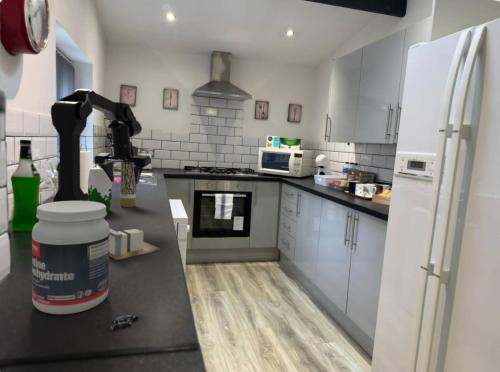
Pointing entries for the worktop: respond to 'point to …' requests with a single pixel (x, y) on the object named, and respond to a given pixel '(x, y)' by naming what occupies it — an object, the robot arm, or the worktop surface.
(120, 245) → the bracketed cream block
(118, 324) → the dark grey lumpy piece
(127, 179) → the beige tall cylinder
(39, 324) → the worktop surface
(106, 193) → the milk carton
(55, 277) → the supplement tub
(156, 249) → the board
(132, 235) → the stub
